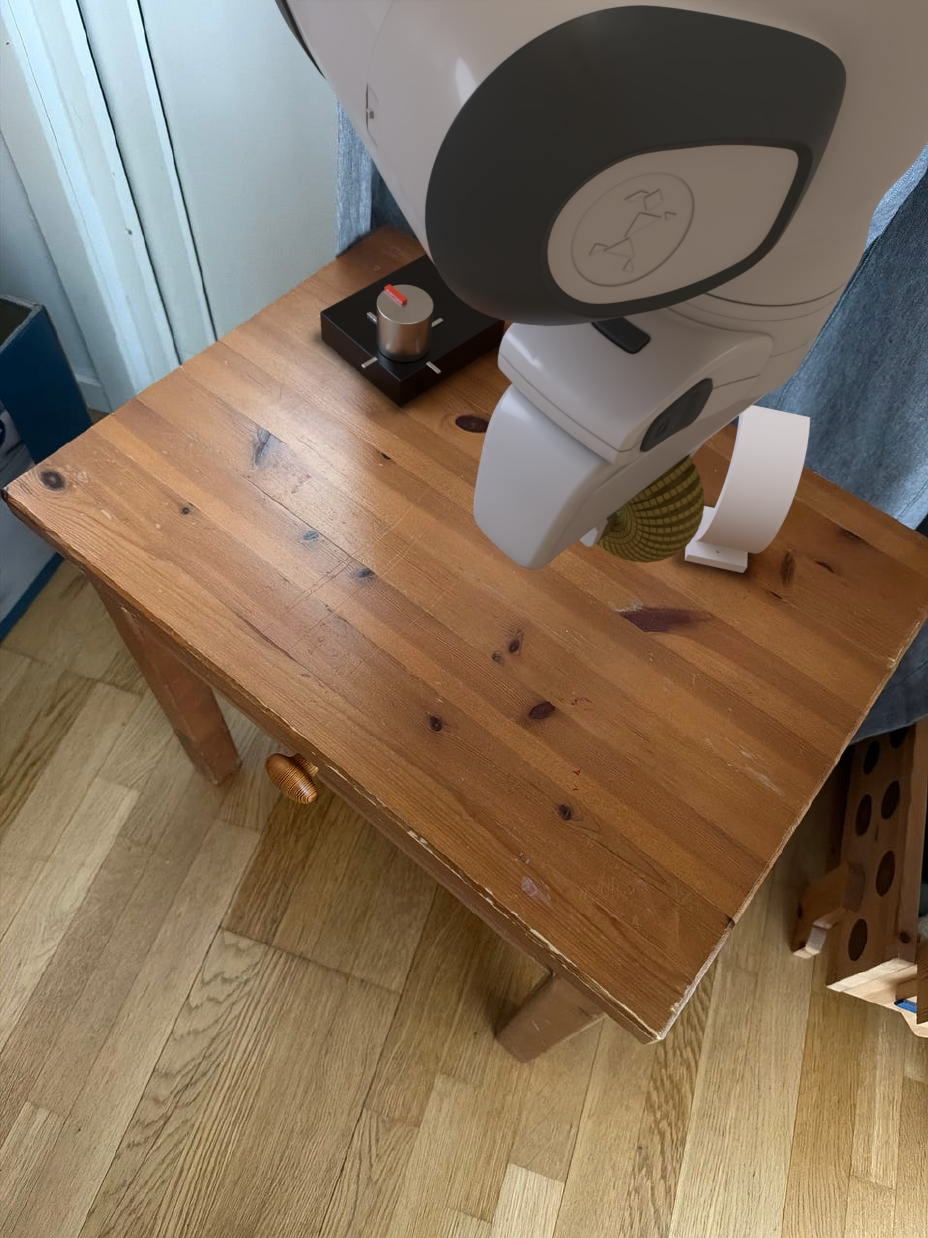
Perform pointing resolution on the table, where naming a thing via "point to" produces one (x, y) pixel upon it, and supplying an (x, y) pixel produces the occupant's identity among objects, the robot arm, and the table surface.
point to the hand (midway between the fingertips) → (622, 505)
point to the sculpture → (659, 517)
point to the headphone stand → (753, 489)
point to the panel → (452, 337)
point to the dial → (404, 322)
